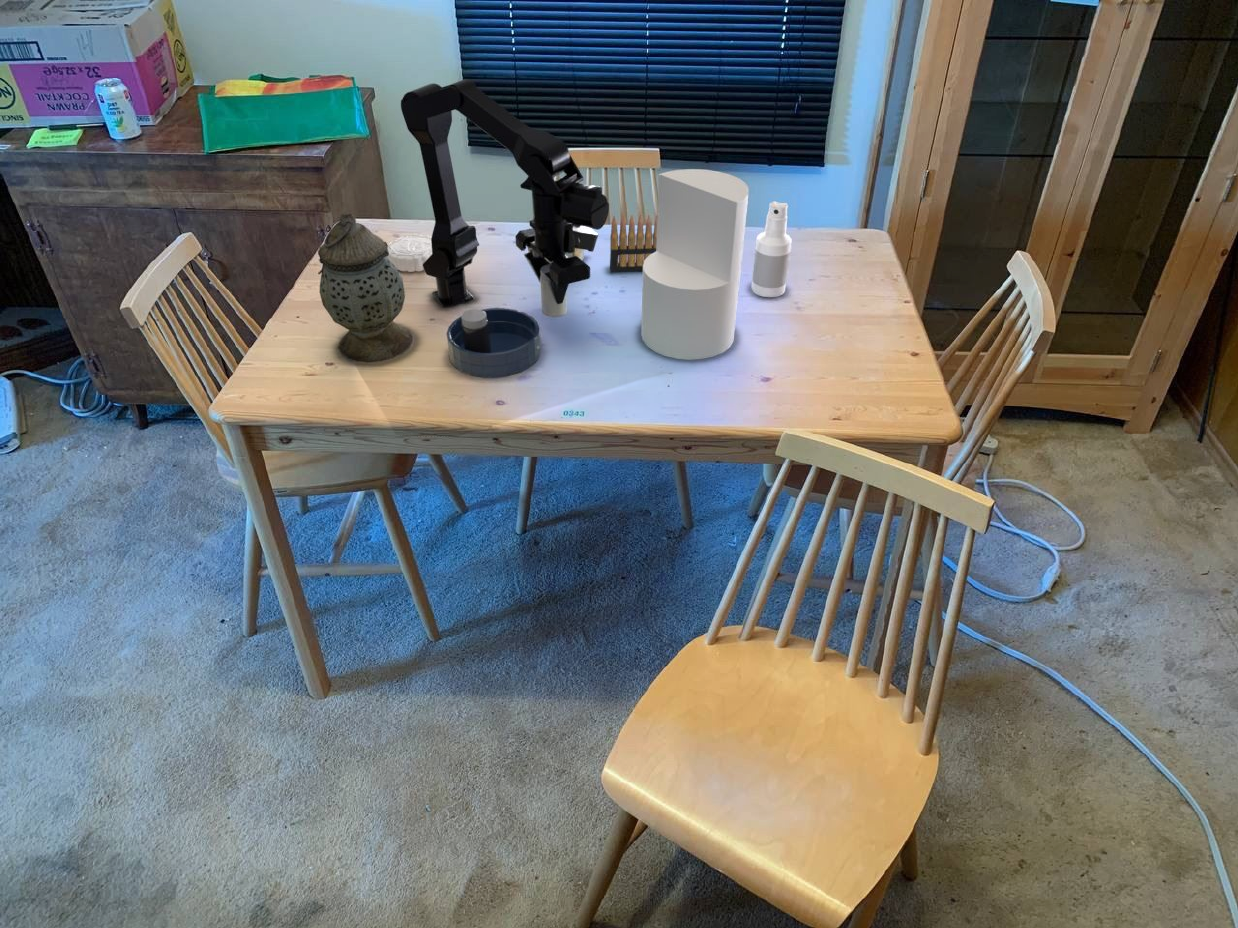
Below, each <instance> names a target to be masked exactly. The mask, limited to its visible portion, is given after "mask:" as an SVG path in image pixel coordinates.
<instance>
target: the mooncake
mask: <svg viewBox="0 0 1238 928" xmlns="http://www.w3.org/2000/svg"><path fill="white" fill-rule="evenodd" d="M431 237H432V236H429V235H426V234H424V235H420V234H410V235H403V236H401V237H399V238H395V239H393V240H391V241H390V242H388V243H387V245H388V247H387V248H388V252H389V255H388V256H387V257H386V258H387V259H388V260H389V261H390V262H391V263H393V264H394V265H395V266H396V268H397V270H398V271H400V272H409V273H413V272H422V271H425V270H424V268H423V263H424V262H425V261H426V260H427V259H428V258H429V257H430V256H431V255H432V244H431Z"/></svg>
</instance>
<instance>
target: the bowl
mask: <svg viewBox="0 0 1238 928" xmlns="http://www.w3.org/2000/svg"><path fill="white" fill-rule="evenodd" d="M481 310H482V311H484V312H485V313H486V315H487V320H488V325H489V334H490V344H491V353H479V352H472V351H469V350H466V349H465V348H464V340H463V332H462V325H461V324H462V318H461V316H459V317H458V318H456V319H455V320H453V321H452V322H451V324H450V325H449V326H448V327H447V330H446V340H447V347H448V355H449V360H450V362H451V364H452V365H453V366H454V368H456V370H459V371H460V372H461V373H464V374H467V375H469V376H473V377H479V378H503V377H509V376H513V375H515V374H516V375H517V374H520V373H521V372H524V371H525V370H528V369H529V368H531V367H532V366H534V364H536V363H537V361H538V360H539V359H540V357H541V353H542V345H541V329H540V325H539V322H538V321H537V320H536V319H535V318H534V317H533V316H531V315H530V314H528V313H526V312H524V311H521V310H517V309H513V308H504V307H491V308H483V309H482V308H481Z"/></svg>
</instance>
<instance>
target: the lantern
mask: <svg viewBox="0 0 1238 928" xmlns="http://www.w3.org/2000/svg"><path fill="white" fill-rule="evenodd" d="M323 242H324V243H323V244H321V246H320V247H318V248H319V249H318V250H317V255H318V257H319V259H318V260H319V263H320V264H322V266H321V269H320V270H319V271H318V273H317V274H318V275H320V281H319V295H320V300H321V303H322V306H323V307H324V309H325V311H326V313H328V315H329V317H330V318H331V320H333V322H334V323H335V324H337V325H339V326H341V327H343V328H345V329H346V330H348V331H347V332H346V334H345V335H343V337H342V338H341V340H340V341H339V343H338V347H337V349H338V350H339V352H340V354H341V356H342V358H345V359H346V360H347V361H350V362H353V361H355V362H359V363H379V362H385V361H389V360H392V359H395V358H397V357H399V356H401V355H404V354H405V353H407V352H408V351H409V350H410V349H411V348H412V346H413V345H414V343H415V335H414V333H412V331H411V330H410V329H408V328H407V327H405V326H403V325H401V324H399V323H398V322H397V323H396V321H394V320H395V319H396V318H397V317H398V316H399V315H400V314H401V312H402V310H403V307H404V303H405V298H406V292H405V291H406V290H405V286H404V280H403V276H402V275H401V273H400V272H399V271H400V270H397V268H396V266H395V265H394V264H393V263H391V262H390V261H389V260H388V259H387V258H386V257H387V256H388V255H389V252H388V248H387V247H388V243H387V242H386V241H384V239H383V238H381V237H380V236H379V235H377V234H375V233H374V232H372V231H371V230H370V229H369V228H368V227H366V226H365V225H364V224H363V223H359V222H357V219H356V216H355V215H354V214H353V213H352V212H350V211H349V212H348V211H346V212H343V213H342V214H341V215H340V217H339V221H338V222H337V223H335V225H333V226H332V228H331V229H330V231H328V233H327V234H326V237H325V239H324V241H323Z"/></svg>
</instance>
